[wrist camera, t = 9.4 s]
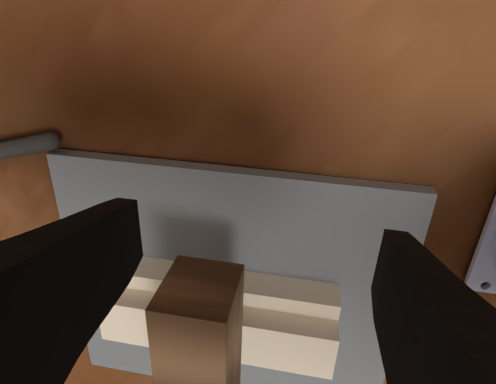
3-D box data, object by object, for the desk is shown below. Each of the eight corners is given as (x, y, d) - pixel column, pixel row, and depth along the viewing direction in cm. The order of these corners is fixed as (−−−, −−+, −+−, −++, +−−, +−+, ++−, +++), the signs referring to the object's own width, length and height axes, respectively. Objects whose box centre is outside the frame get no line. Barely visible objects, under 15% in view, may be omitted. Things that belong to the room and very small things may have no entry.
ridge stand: (432, 186, 20) (460, 230, 16) (371, 404, 28) (380, 470, 24) (56, 148, 23) (1, 177, 19) (98, 354, 31) (65, 404, 27)
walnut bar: (239, 416, 24) (224, 486, 20) (186, 405, 24) (163, 472, 21) (244, 264, 19) (226, 323, 15) (177, 255, 19) (144, 310, 16)
